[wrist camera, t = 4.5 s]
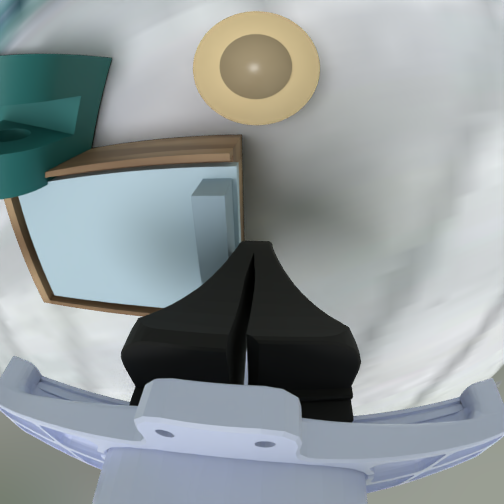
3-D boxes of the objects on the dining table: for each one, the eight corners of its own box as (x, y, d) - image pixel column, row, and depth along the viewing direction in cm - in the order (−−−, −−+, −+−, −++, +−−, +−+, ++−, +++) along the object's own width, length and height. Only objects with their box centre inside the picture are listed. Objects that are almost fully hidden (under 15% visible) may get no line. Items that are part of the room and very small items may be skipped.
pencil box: (245, 271, 20) (238, 323, 15) (74, 264, 20) (43, 302, 16) (241, 134, 15) (229, 153, 11) (45, 157, 16) (-1, 182, 12)
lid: (243, 303, 16) (238, 340, 14) (59, 289, 17) (40, 314, 14) (238, 162, 12) (230, 181, 10) (23, 183, 13) (-7, 202, 10)
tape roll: (307, 117, 14) (319, 127, 11) (213, 117, 14) (194, 127, 11) (307, 31, 11) (319, 13, 8) (211, 32, 12) (191, 15, 8)
